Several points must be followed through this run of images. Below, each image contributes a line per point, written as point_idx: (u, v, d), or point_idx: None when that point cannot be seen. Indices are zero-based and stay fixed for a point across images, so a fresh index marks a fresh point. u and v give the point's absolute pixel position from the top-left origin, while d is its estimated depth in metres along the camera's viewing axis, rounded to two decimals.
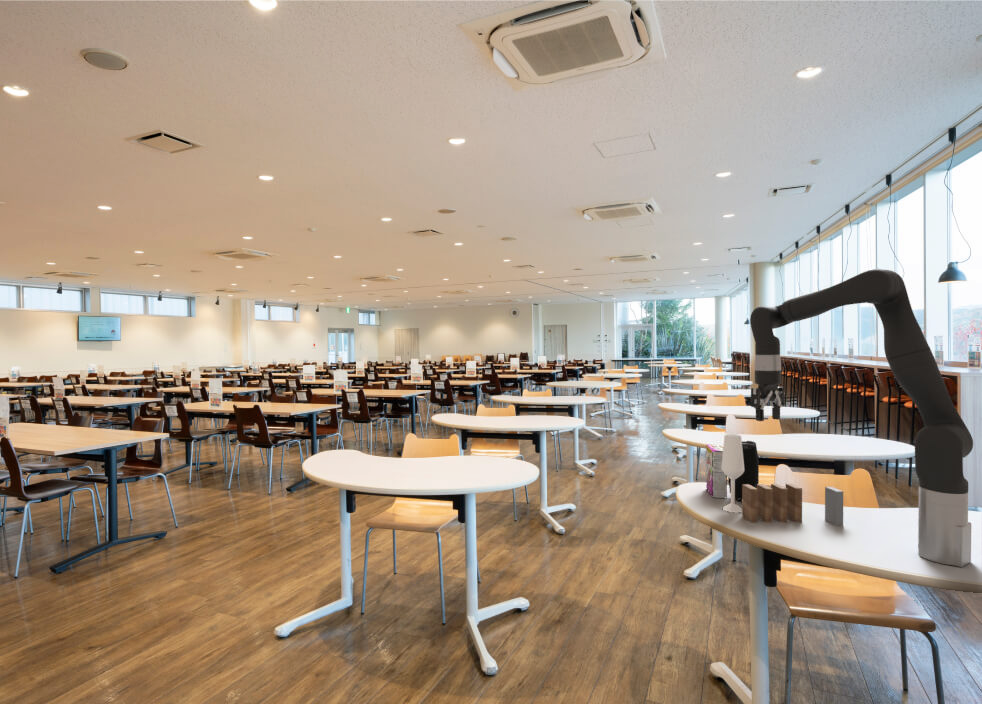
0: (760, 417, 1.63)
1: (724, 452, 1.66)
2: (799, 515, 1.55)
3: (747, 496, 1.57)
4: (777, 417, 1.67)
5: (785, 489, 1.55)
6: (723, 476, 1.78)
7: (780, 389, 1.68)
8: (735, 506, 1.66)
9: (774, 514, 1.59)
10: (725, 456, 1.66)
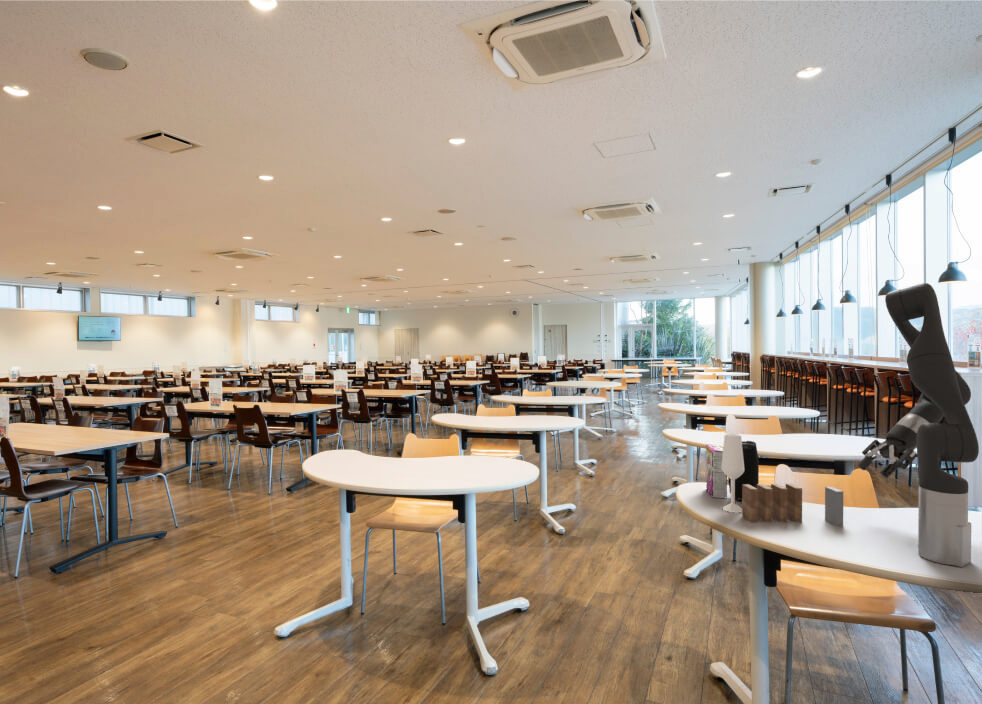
0: (860, 463, 1.59)
1: (724, 452, 1.66)
2: (799, 515, 1.55)
3: (747, 496, 1.57)
4: None
5: (785, 489, 1.55)
6: (723, 476, 1.78)
7: None
8: (735, 506, 1.66)
9: (774, 514, 1.59)
10: (725, 456, 1.66)
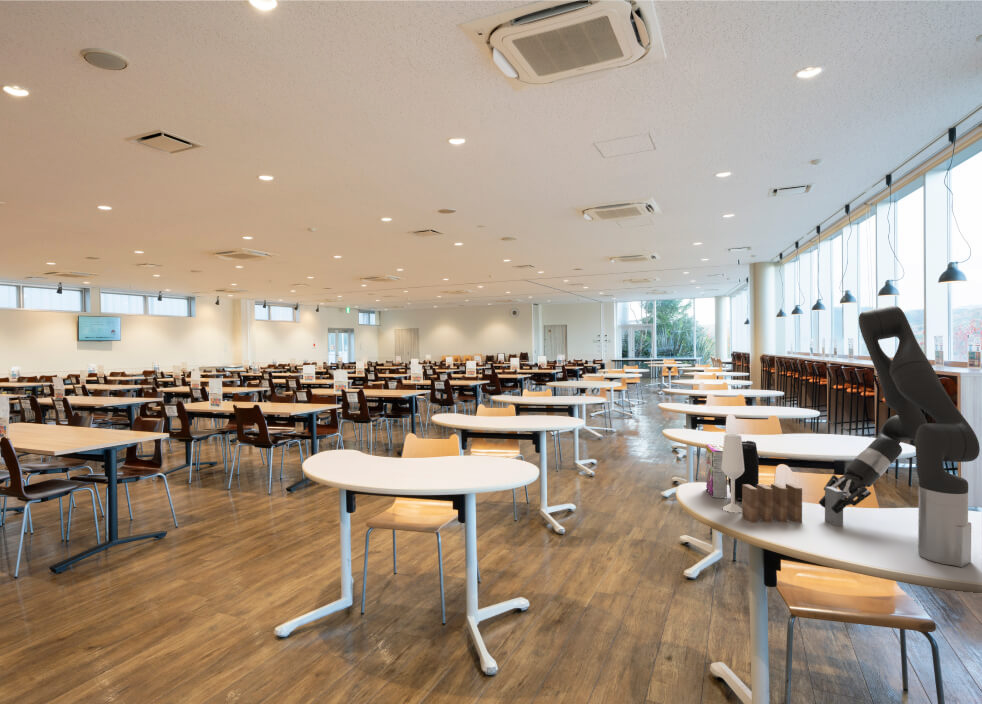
0: (821, 500, 1.58)
1: (724, 452, 1.66)
2: (799, 515, 1.55)
3: (747, 496, 1.57)
4: None
5: (785, 489, 1.55)
6: (723, 476, 1.78)
7: None
8: (735, 506, 1.66)
9: (774, 514, 1.59)
10: (725, 456, 1.66)
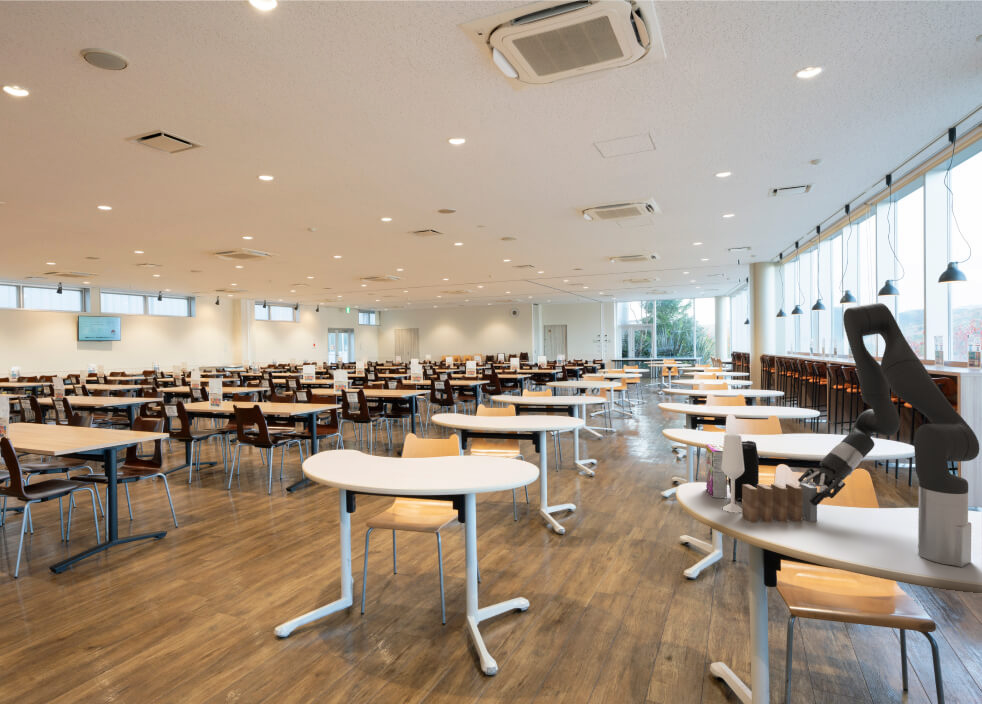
0: None
1: (724, 452, 1.66)
2: (799, 515, 1.55)
3: (747, 496, 1.57)
4: None
5: (785, 489, 1.55)
6: (723, 476, 1.78)
7: None
8: (735, 506, 1.66)
9: (774, 514, 1.59)
10: (725, 456, 1.66)
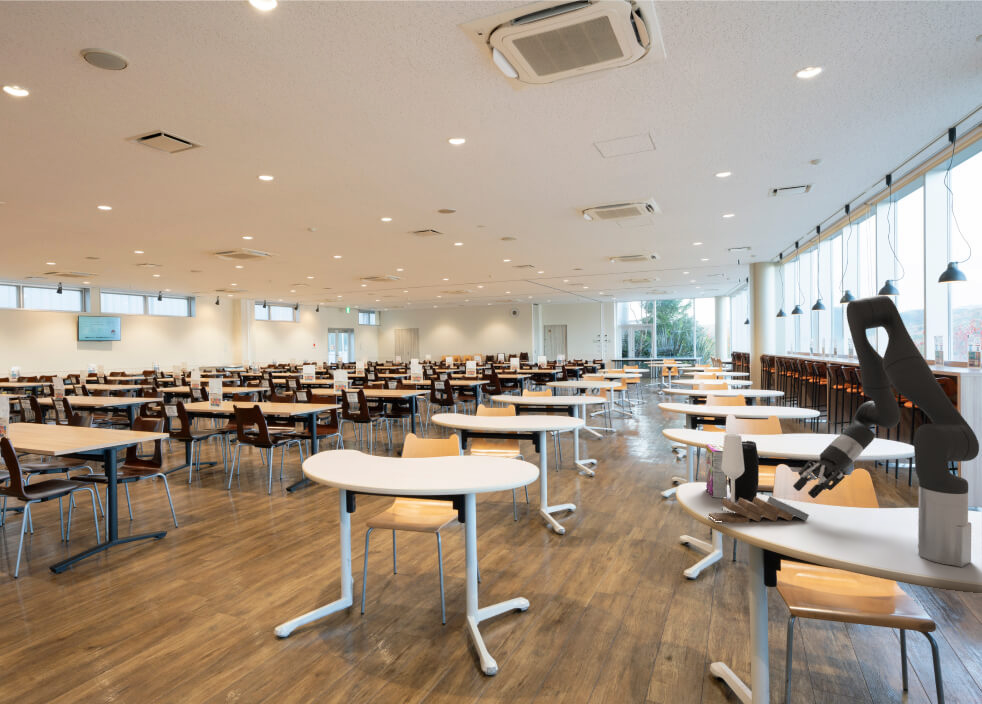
0: None
1: (724, 452, 1.66)
2: (787, 515, 1.56)
3: None
4: None
5: (747, 504, 1.55)
6: (723, 476, 1.78)
7: None
8: None
9: None
10: (725, 456, 1.66)
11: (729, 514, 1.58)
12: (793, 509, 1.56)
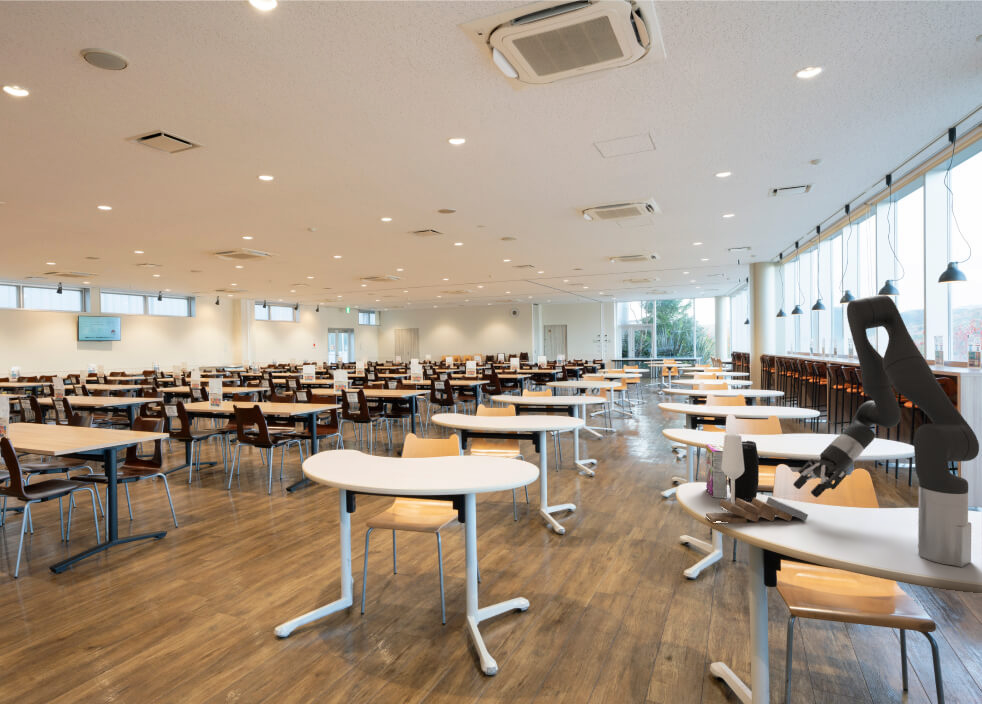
0: None
1: (724, 452, 1.66)
2: (786, 515, 1.55)
3: None
4: None
5: (745, 504, 1.55)
6: (723, 476, 1.78)
7: None
8: None
9: None
10: (725, 456, 1.66)
11: (726, 514, 1.58)
12: (792, 509, 1.56)
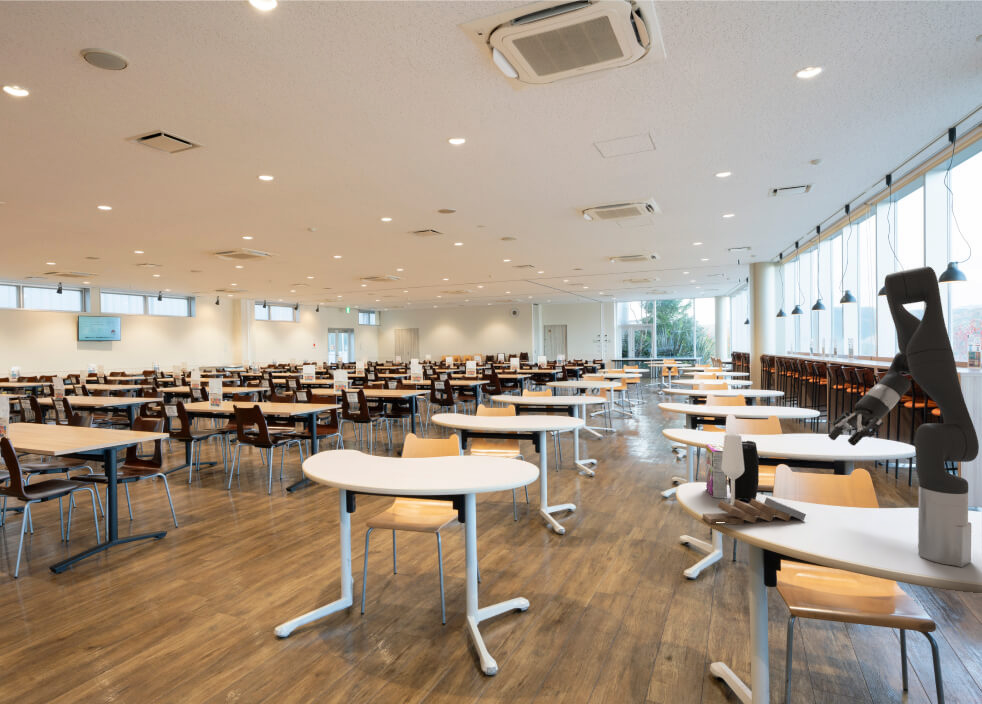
0: None
1: (724, 452, 1.66)
2: (784, 515, 1.55)
3: None
4: None
5: (746, 506, 1.54)
6: (723, 476, 1.78)
7: None
8: None
9: None
10: (725, 456, 1.66)
11: (723, 515, 1.57)
12: (791, 509, 1.56)
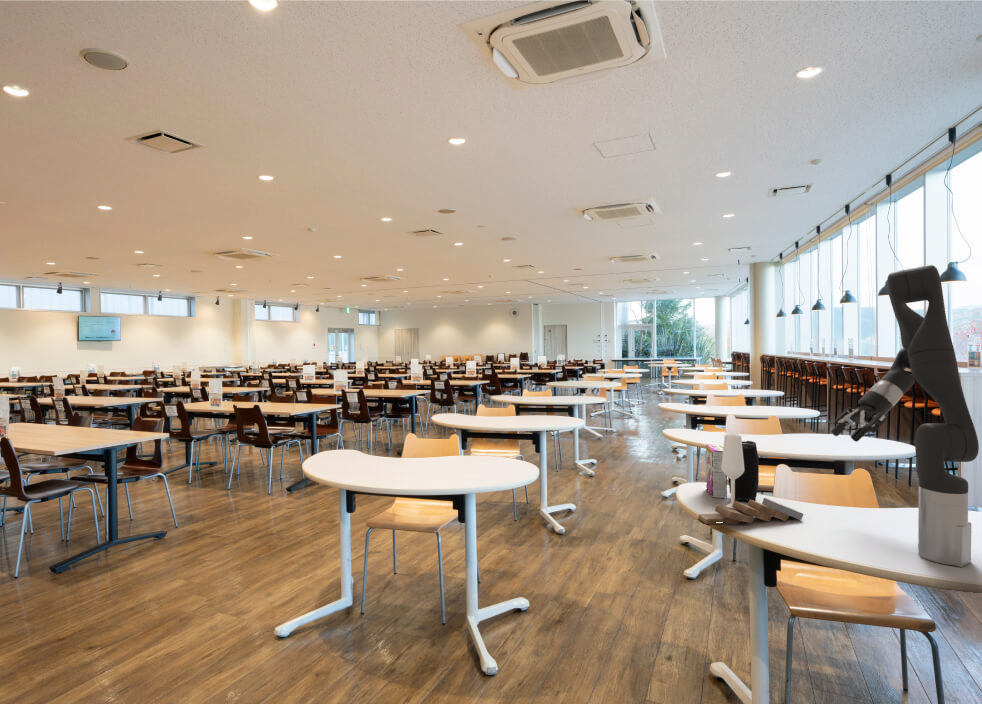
0: None
1: (724, 452, 1.66)
2: (782, 515, 1.55)
3: None
4: None
5: (747, 508, 1.52)
6: (723, 476, 1.78)
7: None
8: None
9: None
10: (725, 456, 1.66)
11: (719, 515, 1.57)
12: (788, 509, 1.56)
